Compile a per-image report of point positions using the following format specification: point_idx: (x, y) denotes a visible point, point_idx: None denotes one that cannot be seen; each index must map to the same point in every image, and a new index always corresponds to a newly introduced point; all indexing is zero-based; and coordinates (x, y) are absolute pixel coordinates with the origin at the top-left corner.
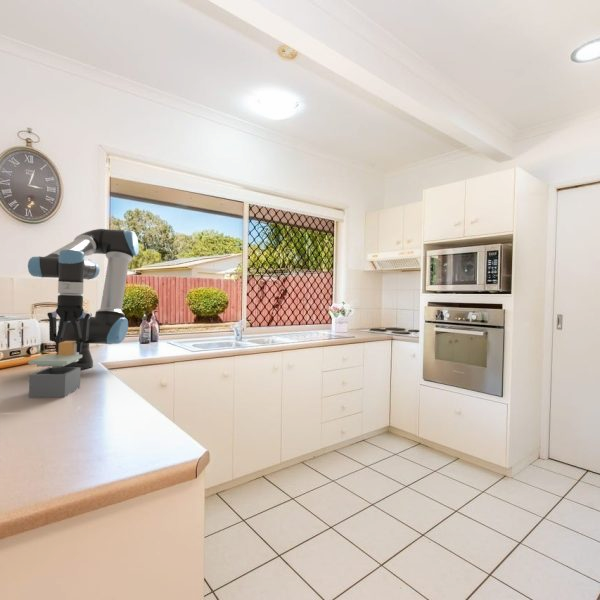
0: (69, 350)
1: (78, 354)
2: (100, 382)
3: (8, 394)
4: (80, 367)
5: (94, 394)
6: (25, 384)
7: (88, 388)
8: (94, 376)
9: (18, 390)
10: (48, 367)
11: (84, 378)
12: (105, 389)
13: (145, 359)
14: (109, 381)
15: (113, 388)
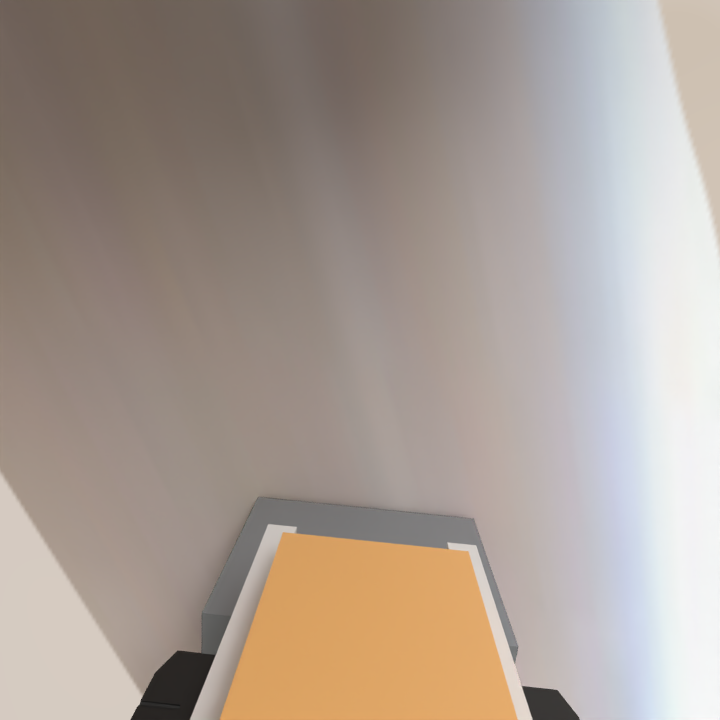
0: None
1: (496, 627)
2: (594, 347)
3: (97, 602)
4: (517, 647)
5: (593, 677)
6: (47, 345)
7: (532, 529)
8: (506, 62)
9: (100, 516)
10: (207, 620)
11: (429, 157)
12: (651, 572)
13: None
14: (666, 317)
15: (705, 553)
